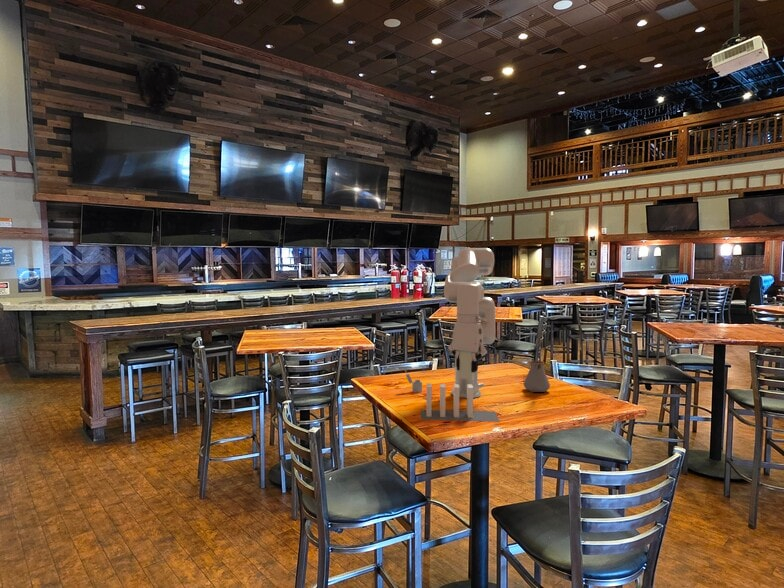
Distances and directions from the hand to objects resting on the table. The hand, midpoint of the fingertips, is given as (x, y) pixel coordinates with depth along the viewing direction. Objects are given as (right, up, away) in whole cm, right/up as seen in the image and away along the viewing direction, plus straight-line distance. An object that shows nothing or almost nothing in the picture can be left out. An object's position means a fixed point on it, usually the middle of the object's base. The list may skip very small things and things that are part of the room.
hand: (466, 370), depth 166 cm
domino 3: (-3, -18, +9) cm, 20 cm away
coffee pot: (+37, -17, +41) cm, 58 cm away
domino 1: (-13, -18, +9) cm, 24 cm away
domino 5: (+2, -18, +8) cm, 20 cm away
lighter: (-17, -17, +43) cm, 49 cm away
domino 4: (0, -3, 0) cm, 3 cm away
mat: (-2, -18, +9) cm, 20 cm away
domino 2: (-8, -18, +9) cm, 21 cm away
